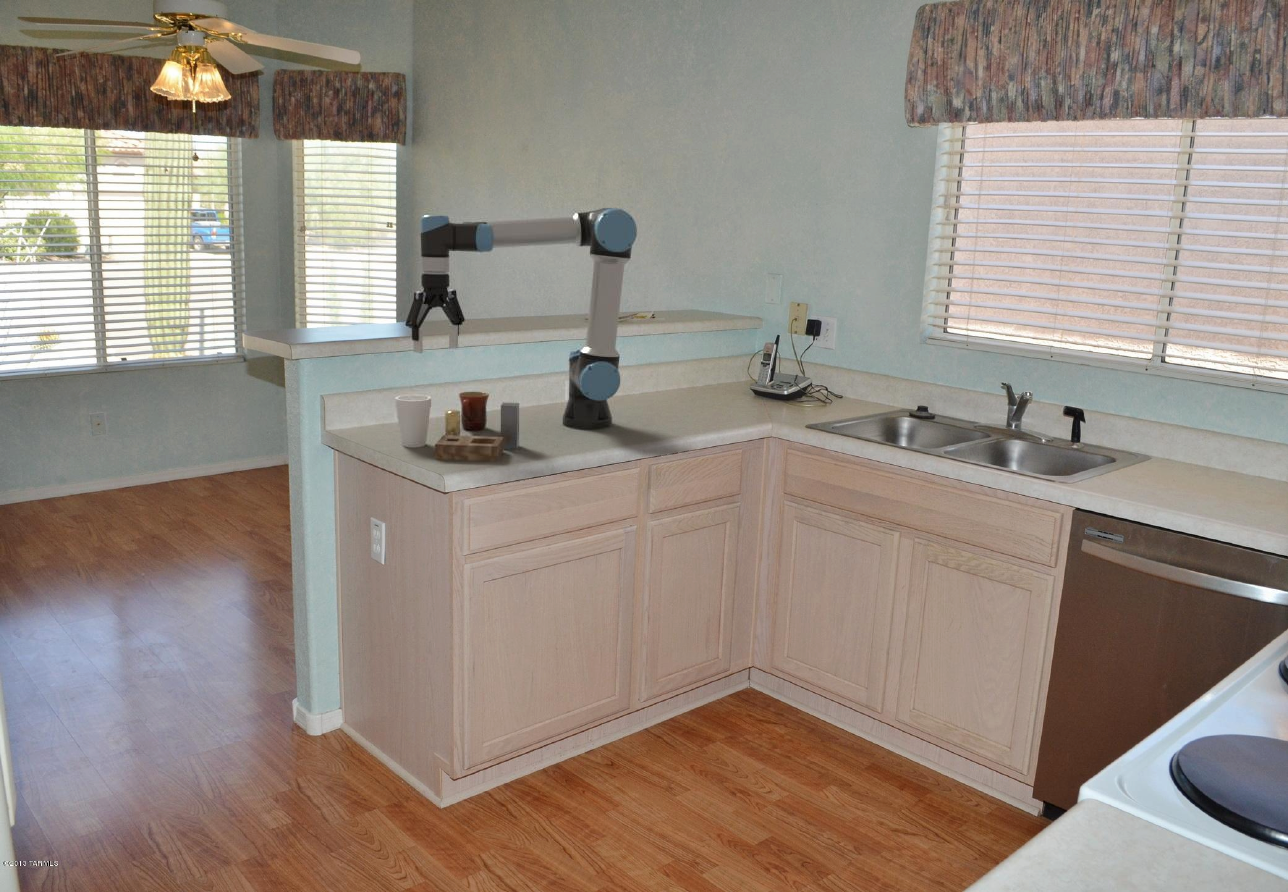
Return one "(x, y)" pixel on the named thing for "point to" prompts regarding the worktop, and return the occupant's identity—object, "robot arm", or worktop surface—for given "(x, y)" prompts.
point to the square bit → (510, 425)
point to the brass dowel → (452, 422)
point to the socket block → (469, 448)
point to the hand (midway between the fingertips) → (436, 350)
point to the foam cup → (413, 419)
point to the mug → (473, 410)
